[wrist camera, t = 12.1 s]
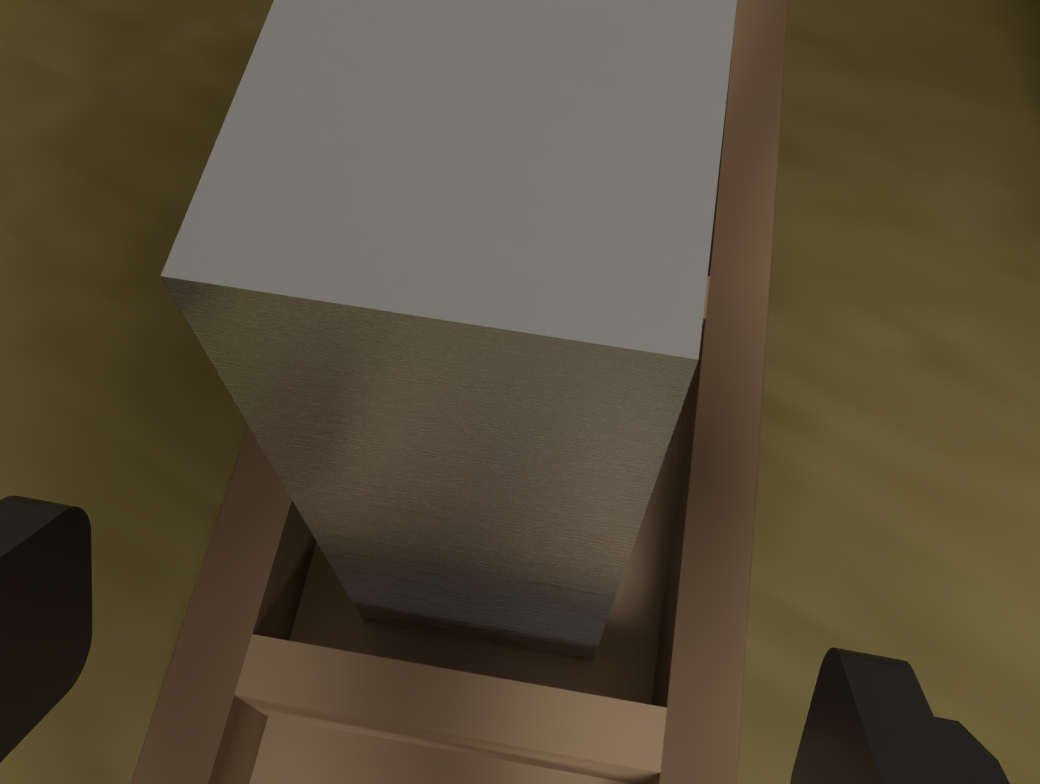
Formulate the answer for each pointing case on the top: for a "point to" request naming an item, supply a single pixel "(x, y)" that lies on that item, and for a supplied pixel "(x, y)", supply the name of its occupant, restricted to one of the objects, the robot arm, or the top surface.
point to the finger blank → (465, 290)
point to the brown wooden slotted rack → (494, 668)
